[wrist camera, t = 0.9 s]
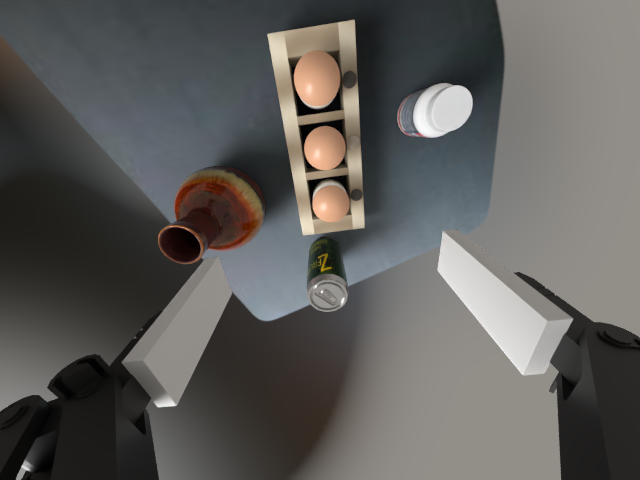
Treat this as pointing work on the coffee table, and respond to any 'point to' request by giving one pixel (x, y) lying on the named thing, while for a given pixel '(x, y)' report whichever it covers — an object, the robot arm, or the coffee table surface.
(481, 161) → the coffee table surface
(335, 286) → the beer can
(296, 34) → the wooden egg tray
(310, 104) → the button
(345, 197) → the button
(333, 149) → the button
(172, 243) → the vase
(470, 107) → the pill bottle
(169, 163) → the coffee table surface
